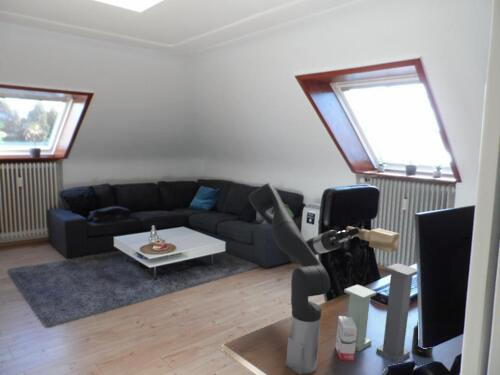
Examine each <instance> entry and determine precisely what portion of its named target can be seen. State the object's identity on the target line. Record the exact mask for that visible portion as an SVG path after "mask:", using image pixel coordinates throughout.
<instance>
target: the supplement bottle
mask: <svg viewBox="0 0 500 375" xmlns="http://www.w3.org/2000/svg"><path fill="white" fill-rule="evenodd" d="M412 332H413V333H412V342H411V351H412V353H414V355H416V356H417V357H421V358H431V357H432V356H433V352H434V347H433V348H427V349H423V348H421V347H419V346H418V321H417V323H416V325H415V326H414V327H413V331H412Z"/></svg>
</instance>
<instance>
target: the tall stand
mask: <svg viewBox="0 0 500 375" xmlns="http://www.w3.org/2000/svg"><path fill="white" fill-rule="evenodd" d="M417 269H418V268H415V267H412V266H408V265H406V264H401V263H399V262H398V263H394V264H391V265H388V266H385V269H384V270H385V271H387V272H389V273H390V282H389V288H388V289H389V290H388V300H387V307H386V317H385V325H384V326H385V327H384V336H383V343H382V344H381V345H380V346H378V347H376V353H377V354H379V355H381V356H383V357H384V358H386V359H387V360H391V361H393V362H394V363H396V364H399V363H400V362H402V361H403V360H405V359H406V358H408V357H409V356H410V355H411V351H410V350H408V349H406V348H405V345H406V344H405V343H406V335H407V334H406V333H407V326H408V318H409V311H410V310H409V308H410V302H411V301H410V300H411V291H412V284H413V283H412V282H413V276H415V275H417Z"/></svg>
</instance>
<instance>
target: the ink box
mask: <svg viewBox="0 0 500 375" xmlns="http://www.w3.org/2000/svg"><path fill="white" fill-rule="evenodd" d="M336 330H337V331H336V341H335V348H336V352H337V355H338V357H339V358H338V359H339V360H340V361H350V362H353V361H355V355H356V350H355V344H356V334H357V327H356V325H355V323H354V321H353V319H352V317H348V316H344V315H343V316H342V315H339V316H338V319H337V329H336Z"/></svg>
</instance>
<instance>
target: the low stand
mask: <svg viewBox="0 0 500 375" xmlns="http://www.w3.org/2000/svg"><path fill="white" fill-rule="evenodd" d="M343 290H344V291H343V292H344V293H346V294H348V295H349V301H348V311H347V317H352V319H353V321H354V323H355V325H356V327H357V334H356V344H355V352H356V351H357V352H360V351H362V350H364V349H365V348H367V347H369V346H371V345H372V339H369V338H367V328H368V320H369V319H368V318H369V311H370V300H371V298H372V297H374V296H376V295H377V291H375V290H373V289H369V288H367V287H365V286H363V285H360V284H355V285H352V286H349V287H347V288H344V289H343Z"/></svg>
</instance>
